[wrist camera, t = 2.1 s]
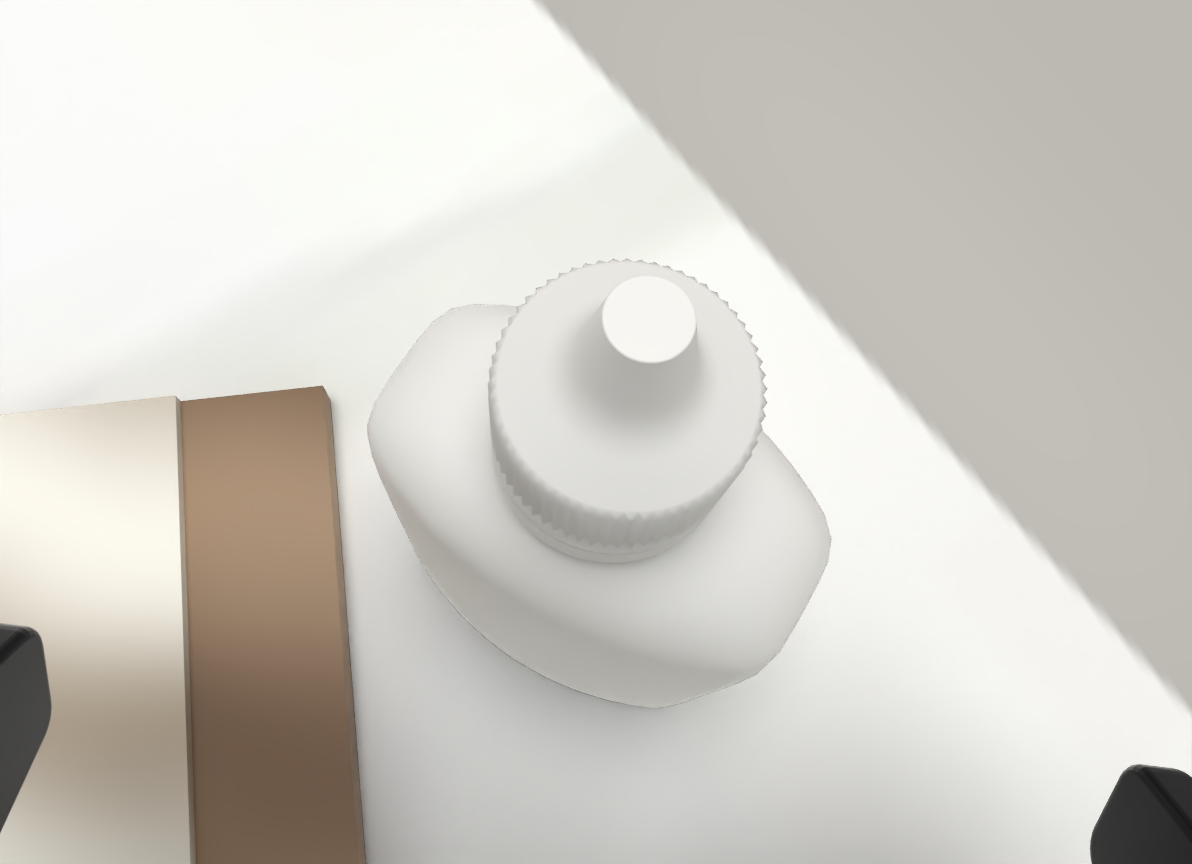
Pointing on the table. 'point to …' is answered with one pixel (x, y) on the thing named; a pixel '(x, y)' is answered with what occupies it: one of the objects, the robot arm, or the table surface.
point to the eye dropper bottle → (603, 484)
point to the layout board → (183, 632)
